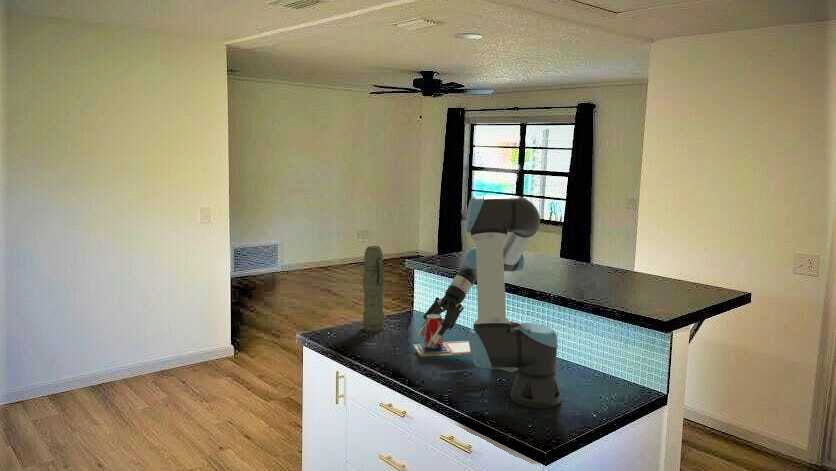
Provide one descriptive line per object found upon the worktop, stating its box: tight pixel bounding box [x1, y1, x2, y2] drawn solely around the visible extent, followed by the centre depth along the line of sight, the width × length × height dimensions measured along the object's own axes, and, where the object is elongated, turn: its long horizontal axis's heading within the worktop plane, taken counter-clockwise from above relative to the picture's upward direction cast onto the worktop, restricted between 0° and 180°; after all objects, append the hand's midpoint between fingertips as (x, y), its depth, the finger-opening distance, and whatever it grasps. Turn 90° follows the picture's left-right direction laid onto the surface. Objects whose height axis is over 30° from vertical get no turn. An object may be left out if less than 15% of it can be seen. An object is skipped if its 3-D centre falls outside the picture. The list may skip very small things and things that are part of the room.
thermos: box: [362, 245, 385, 333], centre depth 262 cm, size 9×12×35 cm
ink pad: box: [417, 342, 450, 355], centre depth 237 cm, size 10×10×1 cm
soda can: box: [423, 314, 444, 349], centre depth 236 cm, size 7×7×12 cm
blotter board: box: [412, 343, 471, 358], centre depth 239 cm, size 14×26×1 cm, turn 102°
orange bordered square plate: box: [443, 340, 471, 355], centre depth 240 cm, size 13×13×1 cm
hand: (426, 339), depth 234 cm, fingers closed on soda can, 7 cm apart
